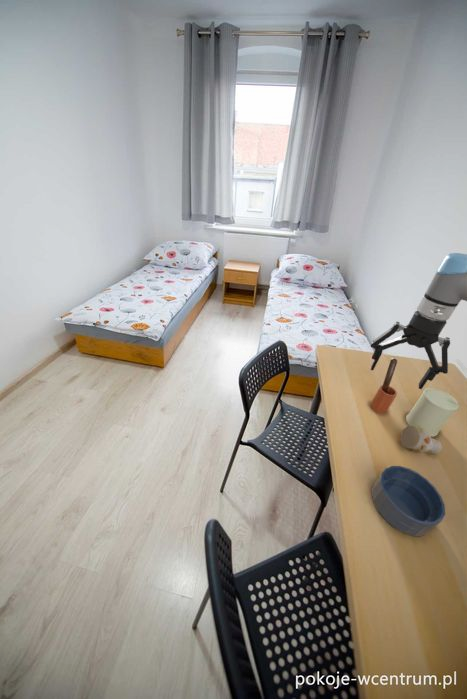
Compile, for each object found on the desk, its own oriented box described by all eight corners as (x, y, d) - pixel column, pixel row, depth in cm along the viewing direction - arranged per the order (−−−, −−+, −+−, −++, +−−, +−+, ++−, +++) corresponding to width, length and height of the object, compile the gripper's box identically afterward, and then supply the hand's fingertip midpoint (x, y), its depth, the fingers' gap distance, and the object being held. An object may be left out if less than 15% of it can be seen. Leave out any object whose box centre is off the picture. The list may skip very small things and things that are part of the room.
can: (441, 440, 83) (464, 413, 76) (408, 430, 85) (428, 402, 78) (434, 418, 90) (454, 392, 83) (403, 410, 92) (421, 383, 85)
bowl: (430, 498, 67) (444, 485, 64) (431, 550, 58) (446, 538, 54) (375, 470, 72) (384, 456, 69) (366, 513, 63) (377, 500, 59)
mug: (443, 463, 76) (446, 445, 70) (402, 460, 81) (401, 444, 75) (437, 438, 81) (439, 419, 75) (399, 436, 86) (398, 419, 80)
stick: (382, 406, 92) (398, 358, 82) (381, 409, 90) (397, 361, 81) (376, 404, 93) (391, 356, 83) (375, 407, 91) (390, 359, 82)
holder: (387, 406, 93) (397, 389, 88) (385, 416, 89) (396, 398, 84) (371, 400, 95) (381, 382, 90) (369, 409, 91) (379, 391, 86)
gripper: (379, 304, 74) (351, 366, 86) (490, 338, 65) (442, 402, 77) (383, 296, 80) (356, 355, 92) (486, 326, 70) (441, 387, 82)
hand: (395, 377), depth 84 cm, fingers open, 13 cm apart
